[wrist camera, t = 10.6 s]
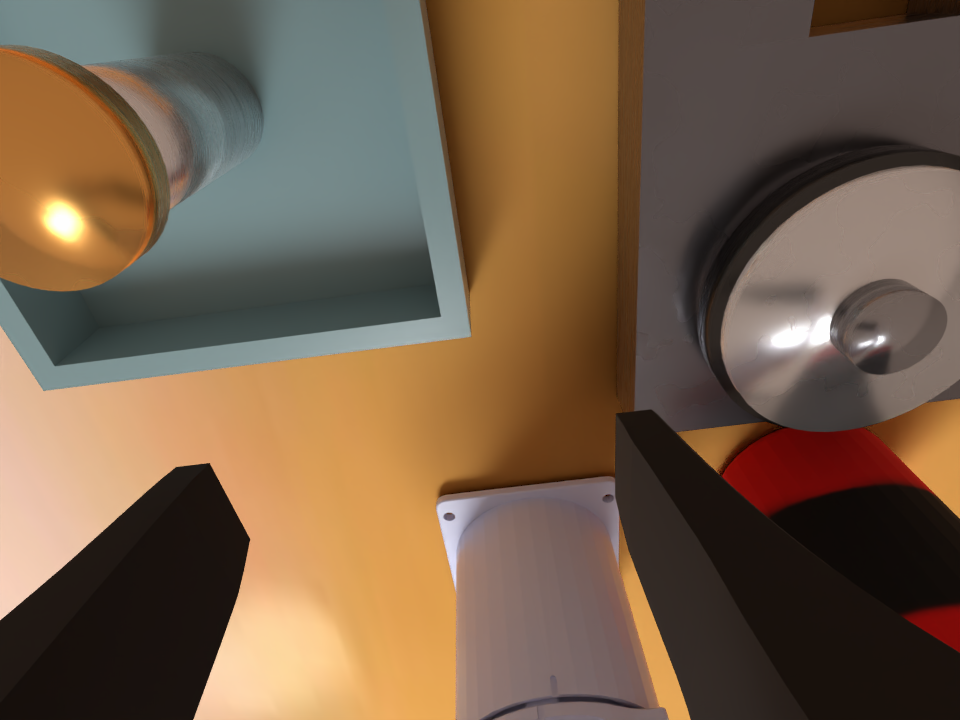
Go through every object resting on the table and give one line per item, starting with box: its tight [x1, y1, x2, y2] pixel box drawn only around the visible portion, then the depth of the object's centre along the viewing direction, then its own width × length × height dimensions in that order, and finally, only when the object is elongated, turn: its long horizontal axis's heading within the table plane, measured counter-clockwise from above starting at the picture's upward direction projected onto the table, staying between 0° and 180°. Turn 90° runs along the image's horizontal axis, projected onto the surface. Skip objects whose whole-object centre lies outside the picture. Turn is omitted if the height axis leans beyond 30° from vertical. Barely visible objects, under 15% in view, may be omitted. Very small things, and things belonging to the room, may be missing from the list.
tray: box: [0, 0, 471, 391], centre depth 15 cm, size 14×14×3 cm
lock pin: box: [0, 45, 264, 291], centre depth 12 cm, size 4×4×8 cm
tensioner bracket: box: [617, 0, 960, 432], centre depth 15 cm, size 18×12×6 cm, turn 7°
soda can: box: [722, 427, 960, 652], centre depth 20 cm, size 8×8×12 cm
